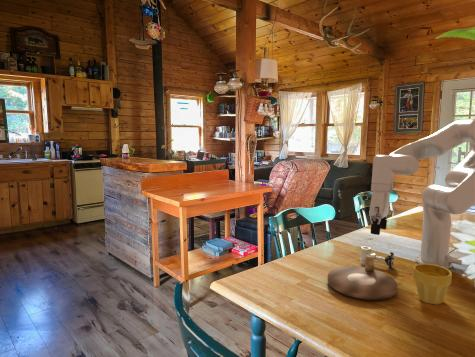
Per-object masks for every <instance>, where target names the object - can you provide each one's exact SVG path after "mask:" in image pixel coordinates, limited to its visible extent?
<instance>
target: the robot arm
mask: <svg viewBox="0 0 475 357" xmlns="http://www.w3.org/2000/svg"><path fill="white" fill-rule="evenodd" d="M464 143H469V144H468V146H469V147H468V148H469V149H468V150H469V151H468V154H467V155H466V156H465V157H464V159H462V160H461V161H460V162H459V163H458V164H456V165H455V166H454V167H453V168H452V169H451V170H450V171H449V172H447V174H446V175H445V178H444V182H445V185H443V184H438V183H437V184H430V185H428V186H426V187H425V188H424V189H423V191H422V195H421V202H422V212H423V213H422V216H423V217H422V227H421V228H422V230H421V243H420V255H417V256H415V262H416V263H417V264H433V265H438V266H441V267H444V268H446V269H448V270H450V269H451V268H453V264H455V265H459V266H462V264H463V259H459V257H455V256H454V257H453V256H451V252H450V239H451V231H452V230H451V227H452V216H451V215H461V214H463V213H465V212H467V211H469V209H471V207H473V206H474V205H475V118H466V119H459V120H458V119H457V120H454V121H453V122H451V123H449V124H447V125H445V126H444V127H443V128H440V129H439V130H437V131H436V132H434V133H433V134H431V135H429V136H426V137H423V138H420V139H418V140H416V141H413V142H410V143H408V144H405V145H403V146H401V147H400V148H399V147H398V149H396V150H394V151H392V152H390V154H376V155H375V156H374V157H373V160H372V162H373V163H372V171H371V172H372V174H371V175H372V176H371V184H370V186H371V188H370V191H371V199H370V205H369V215H368V216H369V217H370V218H371V222H370V234H372V235H377V236H379V235H380V234H381V230H387V227H388V226H387V222H388V215H389V210H390V197H391V194H392V193H393V192H394V190H393V189H394V181H395V180H394V179H395V178H394V177H395V175H401V176H411V175H414V174H416V173H417V172H418V170H419V169H420V162H419V161H420V160H425V159H432V158H436V157H440V156H443V155H445V154H446V153H448V152H450V151H452V150H453V149H455V148H457V147H459V146H460V145H462V144H464ZM390 193H391V194H390Z"/></svg>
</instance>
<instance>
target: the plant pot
mask: <svg viewBox="0 0 475 357" xmlns="http://www.w3.org/2000/svg"><path fill="white" fill-rule="evenodd" d="M412 273H413V278H414V280H415V283H416V284H415V285H416V289H417V290H416V291H417V296H418V299H419V300H420V301H422V302H423V303H427V304H431V305H441V304H442V303H444V300H445V297H446V295H447V291H448V288H449V286H451V285H452V278H453V272H452V271H451V270H450V269H446V268H444V267H441V266H438V265H433V264H419V263H417V264H415V265H414V266H413V271H412Z"/></svg>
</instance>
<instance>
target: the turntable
mask: <svg viewBox="0 0 475 357" xmlns="http://www.w3.org/2000/svg"><path fill="white" fill-rule="evenodd" d="M374 259H375V257H374V256H371V255H366V258H365V265H364V266H354V265H353V266H350V265H349V266H348V265H347V266H339V267H335V268H333V269H331V270H330V271H329V272H328V274H327V283H328V285H329V286H330V288H332V289H334V290H335V291H336V292H339V293H340V294H343V295H345V296H348V297H352V298H357V299H362V300H370V301H371V300H374V301H377V300H385V299H390V298H391V297H394V296H395V295H397V293H398V283H397V281H396V279H394V278H393V277H392V276H390V275H389V274H387V273H385V272H382V271H380V270H376V269H375V261H374Z"/></svg>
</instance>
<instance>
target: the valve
mask: <svg viewBox="0 0 475 357" xmlns="http://www.w3.org/2000/svg"><path fill="white" fill-rule="evenodd" d="M389 254H390V255H387V256H385V257H384V256H381V255H379V256H378V255H377V253H372V247H369V246H361V247H360V253H359V257H360V262H359V263H360V265H363V266H365V258H366V255H371V256H374V257H375V259H374V262H376V261H379V262H384V263H386V264H385V265H387V266H388V269H390V270H393V266H394V260H395V257H394V256H395V253H394V252H392V251H390V252H389Z"/></svg>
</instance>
